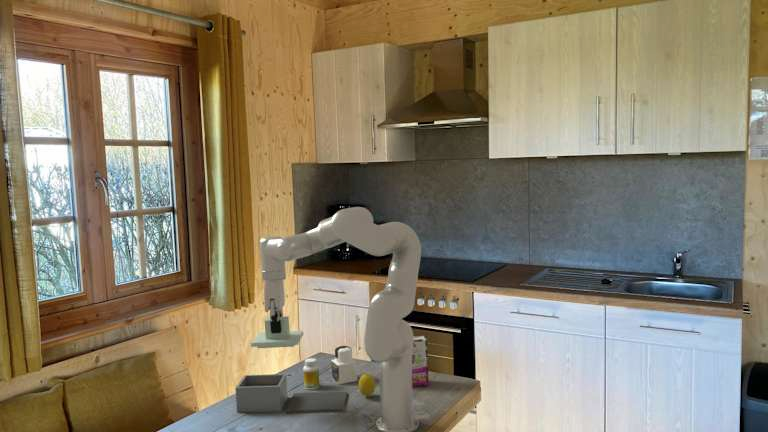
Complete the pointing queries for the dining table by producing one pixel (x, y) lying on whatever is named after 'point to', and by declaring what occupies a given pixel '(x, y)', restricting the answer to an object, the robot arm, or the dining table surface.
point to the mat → (317, 402)
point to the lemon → (366, 385)
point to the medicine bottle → (344, 366)
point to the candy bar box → (419, 361)
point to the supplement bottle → (311, 374)
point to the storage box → (261, 393)
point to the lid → (277, 336)
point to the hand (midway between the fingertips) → (277, 330)
